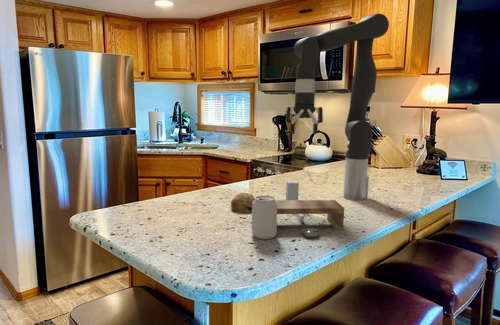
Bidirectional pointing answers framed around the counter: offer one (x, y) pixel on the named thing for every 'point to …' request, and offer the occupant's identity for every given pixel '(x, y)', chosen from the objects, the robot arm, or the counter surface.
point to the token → (310, 233)
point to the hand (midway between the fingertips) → (303, 133)
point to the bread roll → (242, 202)
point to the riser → (314, 209)
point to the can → (264, 217)
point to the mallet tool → (293, 195)
